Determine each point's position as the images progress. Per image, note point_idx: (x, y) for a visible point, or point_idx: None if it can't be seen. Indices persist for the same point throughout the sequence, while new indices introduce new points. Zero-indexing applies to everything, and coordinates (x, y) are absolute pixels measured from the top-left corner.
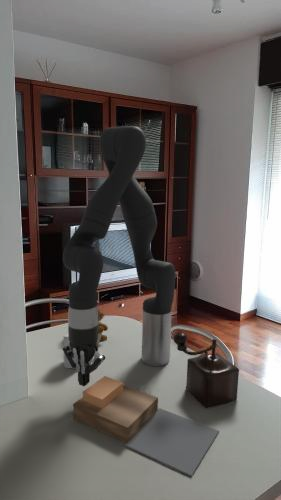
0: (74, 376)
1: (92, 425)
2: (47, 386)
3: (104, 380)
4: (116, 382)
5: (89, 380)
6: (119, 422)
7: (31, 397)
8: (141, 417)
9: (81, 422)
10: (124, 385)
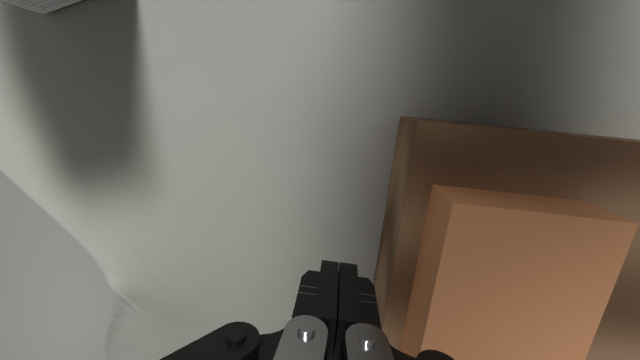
0: (159, 67)
1: None
2: (122, 207)
3: (479, 256)
4: (583, 245)
5: (374, 290)
6: None
7: (134, 295)
8: None
9: None
10: (570, 139)
